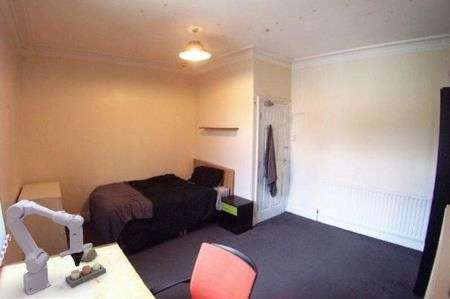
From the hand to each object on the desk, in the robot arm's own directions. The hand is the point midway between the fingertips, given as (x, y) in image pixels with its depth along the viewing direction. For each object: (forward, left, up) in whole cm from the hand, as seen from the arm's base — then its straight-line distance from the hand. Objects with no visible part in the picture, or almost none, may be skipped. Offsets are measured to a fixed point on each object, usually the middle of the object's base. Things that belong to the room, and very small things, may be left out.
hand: (77, 265), depth 126 cm
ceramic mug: (+13, +19, -9) cm, 25 cm away
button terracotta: (+4, 0, -7) cm, 8 cm away
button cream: (-1, 0, -7) cm, 7 cm away
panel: (+4, 0, -8) cm, 9 cm away
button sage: (+9, 0, -8) cm, 12 cm away
